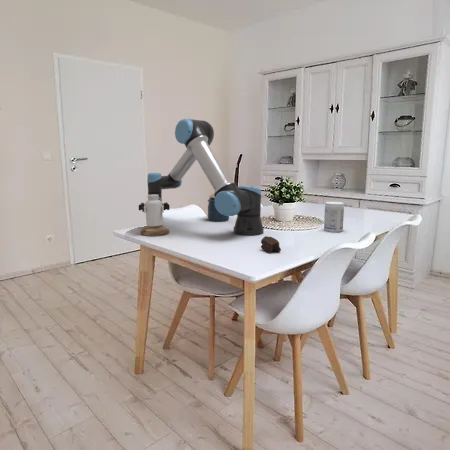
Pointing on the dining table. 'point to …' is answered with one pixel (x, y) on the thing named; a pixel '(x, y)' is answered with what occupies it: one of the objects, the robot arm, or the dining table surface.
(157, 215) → the pill bottle
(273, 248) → the brown notched block
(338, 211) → the supplement tub
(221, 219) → the canister
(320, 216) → the dining table surface
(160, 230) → the brown rope coil
